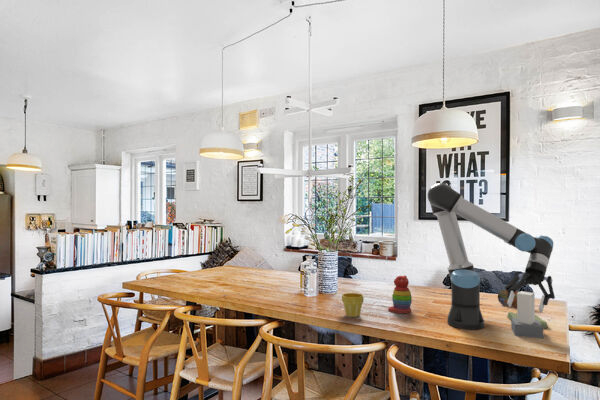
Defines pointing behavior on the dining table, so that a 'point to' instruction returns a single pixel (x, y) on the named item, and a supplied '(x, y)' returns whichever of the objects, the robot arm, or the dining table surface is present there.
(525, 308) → the cream block
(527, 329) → the charcoal base block
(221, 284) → the dining table surface
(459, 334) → the dining table surface
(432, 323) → the dining table surface
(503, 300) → the brown flat oval
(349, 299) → the plant pot
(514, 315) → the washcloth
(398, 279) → the stacking bear
